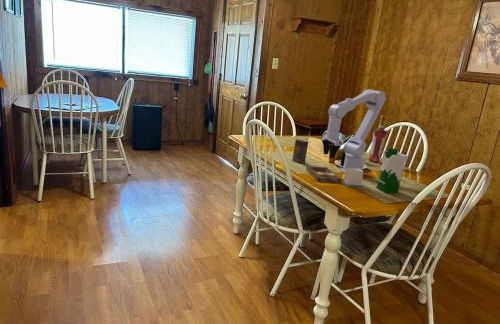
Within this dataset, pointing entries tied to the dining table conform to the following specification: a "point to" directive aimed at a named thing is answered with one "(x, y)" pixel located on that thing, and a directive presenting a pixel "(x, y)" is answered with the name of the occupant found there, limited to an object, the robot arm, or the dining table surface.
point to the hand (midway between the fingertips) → (328, 156)
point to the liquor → (378, 141)
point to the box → (300, 151)
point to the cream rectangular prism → (353, 176)
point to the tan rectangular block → (326, 174)
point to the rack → (322, 179)
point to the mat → (352, 185)
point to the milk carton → (391, 171)
